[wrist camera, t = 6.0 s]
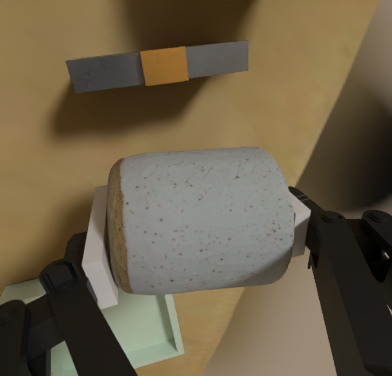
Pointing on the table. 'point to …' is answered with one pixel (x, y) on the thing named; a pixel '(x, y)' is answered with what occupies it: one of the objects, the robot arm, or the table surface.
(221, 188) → the ceramic mug
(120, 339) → the tray
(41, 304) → the robot arm
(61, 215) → the table surface
